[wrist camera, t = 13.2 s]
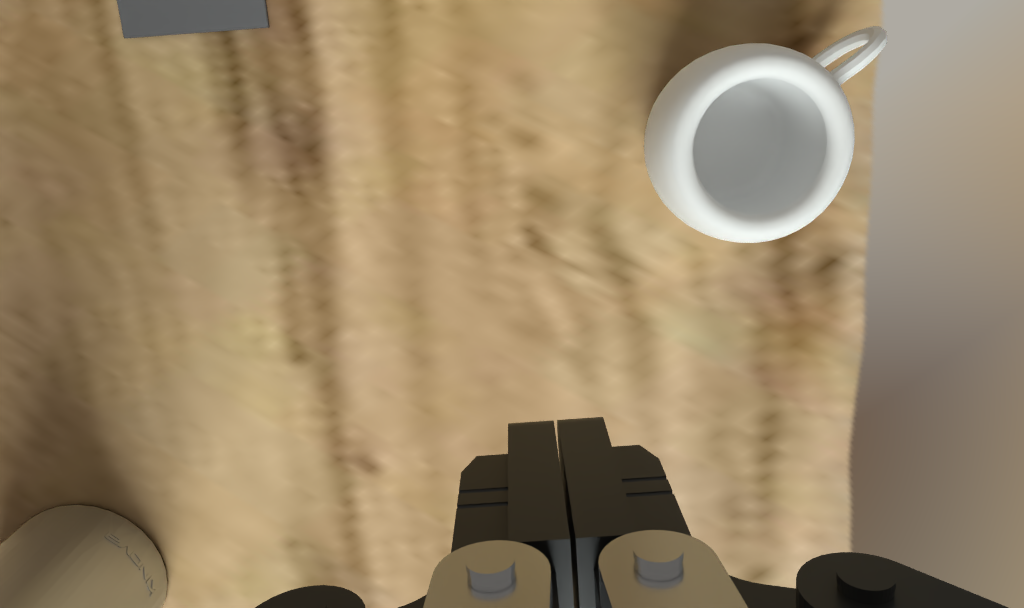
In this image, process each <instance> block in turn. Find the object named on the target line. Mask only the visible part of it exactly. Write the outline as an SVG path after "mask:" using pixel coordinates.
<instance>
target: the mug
mask: <svg viewBox="0 0 1024 608" xmlns="http://www.w3.org/2000/svg"><path fill="white" fill-rule="evenodd" d="M864 44H865V45H864ZM886 44H887V32H886V31H885V30H884V29H882V28H881V27H879V26H873V27H868V28H865V29H862V30H859V31H856V32H854V33H851V34H849V35H847V36H845V37H843V38H841V39H840V40H838V41H836V42H835V43H833V44H831V45H830V46H828V47H827V48H825V49H824V50H823V51H821V52H820V53H818V54H817V55H816V56H814V57H813V58H810V57H808V56H807V55H805V54H803V53H800V52H798V51H795V50H792V49H790V48H786V47H783V46H778V45H773V44H767V43H748V44H740V45H733V46H728V47H724V48H721V49H718V50H715V51H712V52H710V53H708V54H706V55H704V56H702V57H699V58H697V59H695V60H694V61H693V62H691V63H690V64H688V65H687V66H685V67H684V68H683V69H681V70H680V71H679V72H678V73H677V74H676V75H675V76H674V77H673V78H672V79H671V80H670V81H669V82H668V83H667V85H666V86H665V87H664V89H663V90H662V91H661V92H660V94H659V96H658V98H657V100H656V101H655V103H654V105H653V107H652V110H651V112H650V115H649V118H648V121H647V125H646V130H645V137H644V154H645V163H646V167H647V171H648V175H649V177H650V180H651V182H652V184H653V186H654V189H655V191H656V192H657V194H658V195H659V197H660V198H661V200H662V202H663V203H664V204H665V205H666V206H667V207H668V208H669V209H670V211H671V212H672V213H673V214H674V215H675V216H677V217H678V218H679V219H680V220H682V221H683V222H684V223H686V224H687V225H689V226H690V227H692V228H694V229H696V230H698V231H700V232H702V233H704V234H706V235H709V236H712V237H714V238H717V239H721V240H726V241H732V242H741V243H757V242H764V241H771V240H774V239H778V238H781V237H784V236H787V235H789V234H791V233H793V232H795V231H798V230H799V229H801V228H803V227H804V226H806V225H807V224H809V223H810V222H812V221H813V220H814V219H815V218H816V217H817V216H819V215H820V214H821V213H822V212H823V211H824V210H825V209H826V207H827V206H828V205H829V204H830V203H831V202H832V200H833V199H834V198H835V196H836V194H837V193H838V191H839V190H840V188H841V187H842V185H843V182H844V180H845V178H846V176H847V174H848V171H849V168H850V164H851V161H852V157H853V149H854V123H853V118H852V113H851V109H850V106H849V103H848V101H847V98H846V96H845V94H844V92H843V90H842V89H841V87H840V85H841V84H842V83H844V82H845V81H847V80H848V79H849V78H851V77H852V76H853V75H855V74H856V73H858V72H859V71H860V70H862V69H863V68H864V67H865V66H866V65H868V64H869V63H870V62H871V61H872V60H873V59H874V58H875V57H876V56H877V55H878V54H879V53H880V51H881V50H882V49H883V48H884V46H885V45H886ZM862 45H864V46H863V47H862V48H861V49H859V50H858V51H857V52H856V53H855V54H854V55H853V56H851V57H850V58H848V59H847V60H846V61H844V62H843V63H842V64H840V65H839V66H838V67H836V68H835V69H834V70H832V71H831V72H829V71H828V70H826V69H825V68H824V67H826V66H827V65H829V64H830V63H831V62H833V61H834V60H836V59H837V58H839V57H841V56H842V55H844V54H846V53H847V52H849V51H851V50H853V49H855V48H857V47H859V46H862Z"/></svg>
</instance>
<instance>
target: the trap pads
mask: <svg viewBox="0 0 1024 608" xmlns="http://www.w3.org/2000/svg"><path fill="white" fill-rule="evenodd" d="M117 3H118V8H119V14H120V19H121V25H122V30H123V35H124V38H137V37H150V36H163V35H176V34H190V33H203V32H216V31H229V30H242V29H255V28H268V27H269V22H268V14H267V7H266V0H117Z"/></svg>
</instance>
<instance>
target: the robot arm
mask: <svg viewBox="0 0 1024 608" xmlns="http://www.w3.org/2000/svg"><path fill="white" fill-rule="evenodd" d="M557 431H558V448H559V457H558V449H557V442H556V435H555V428H554V421H540V422H525V423H511V424H508V454H502V455H487V456H476V457H475V459H474V460H473V461H472V462H471V463H470V464H469V465H468V466H467V467H466V468H465V469H464V470H463V471H462V472H461V479H460V487H459V495H458V503H457V511H456V519H455V526H454V534H453V542H452V550H451V553H450V554H449V555H447V556H446V557H445V558H443V559H442V560H441V561H440V562H439V564H438V565H437V566H436V568H435V570H434V572H433V575H432V578H431V582H430V585H429V589H428V592H427V595H425V596H423V597H422V598H420V599H418V600H416V601H414V602H412V603H409V604H407V605H404V606H401V607H398V608H1008V607H1005V606H1003V605H1001V604H998V603H996V602H993V601H991V600H988V599H986V598H983V597H981V596H979V595H976V594H973V593H971V592H969V591H966V590H964V589H961V588H958V587H956V586H954V585H952V584H949V583H947V582H944V581H941V580H939V579H936V578H934V577H932V576H929V575H927V574H925V573H922V572H920V571H917V570H915V569H912V568H910V567H907V566H905V565H902V564H900V563H897V562H895V561H892V560H889V559H886V558H882V557H879V556H874V555H869V554H863V553H852V552H841V553H831V554H826V555H821V556H819V557H816V558H813V559H811V560H810V561H808V562H806V563H805V564H804V565H803V566H802V567H801V568H800V570H799V571H798V574H797V578H796V589H794V588H787V587H779V586H772V585H764V584H759V583H753V582H749V581H745V580H741V579H738V578H735V577H732V576H730V575H728V573H727V571H726V570H725V568H724V566H723V565H722V563H721V561H720V560H719V558H718V556H717V555H716V553H715V552H714V551H713V550H712V549H711V548H710V547H709V546H708V545H707V544H705V543H704V542H702V541H700V540H698V539H696V538H694V537H692V536H691V534H690V532H689V529H688V527H687V525H686V522H685V520H684V518H683V515H682V513H681V510H680V508H679V506H678V503H677V501H676V498H675V496H674V494H672V489H671V486H670V484H669V482H668V480H667V479H666V474H665V472H664V470H663V467H662V465H661V463H660V460H659V459H658V458H657V457H656V456H654V455H653V454H651V453H650V452H649V451H647V450H646V449H644V448H643V447H641V446H640V445H632V446H617V447H612V446H611V442H610V439H609V436H608V432H607V429H606V426H605V422H604V419H603V417H596V418H582V419H567V420H557ZM166 592H167V576H166V569H165V567H164V564H163V561H162V558H161V555H160V554H159V552H158V550H157V549H156V547H155V546H154V544H153V542H152V541H151V540H150V539H149V538H148V537H147V536H146V535H145V534H144V532H143V531H142V530H141V529H139V528H138V527H137V526H135V525H134V524H133V523H131V522H130V521H129V520H127V519H125V518H123V517H121V516H119V515H117V514H115V513H113V512H111V511H108V510H105V509H101V508H98V507H94V506H85V505H68V506H59V507H55V508H52V509H49V510H46V511H43V512H41V513H39V514H38V515H36V516H34V517H32V518H31V519H29V520H28V521H27V522H26V523H25V524H23V525H22V526H21V527H20V528H19V529H18V530H17V531H15V532H14V533H13V534H12V535H11V536H10V537H9V538H7V539H6V540H5V541H4V542H3V543H2V544H0V608H162V607H163V605H164V602H165V599H166ZM255 608H365V604H364V603H363V601H362V599H361V598H360V597H359V596H358V595H357V594H355V593H353V592H352V591H350V590H347V589H345V588H341V587H336V586H327V585H320V586H308V587H302V588H298V589H294V590H290V591H287V592H284V593H282V594H279V595H277V596H275V597H272V598H271V599H269V600H267V601H265V602H263V603H262V604H260V605H258V606H257V607H255Z"/></svg>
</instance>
